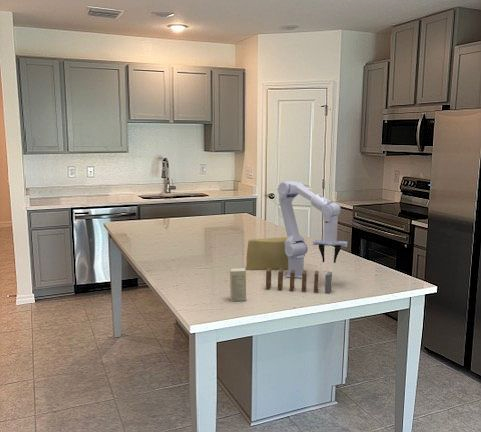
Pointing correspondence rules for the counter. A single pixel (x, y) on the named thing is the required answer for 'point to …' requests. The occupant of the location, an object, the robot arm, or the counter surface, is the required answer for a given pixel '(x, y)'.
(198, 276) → the counter surface
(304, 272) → the walnut domino
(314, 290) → the walnut domino
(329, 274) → the grey domino
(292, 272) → the walnut domino
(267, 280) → the walnut domino
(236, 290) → the skincare box
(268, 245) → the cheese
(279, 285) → the walnut domino
